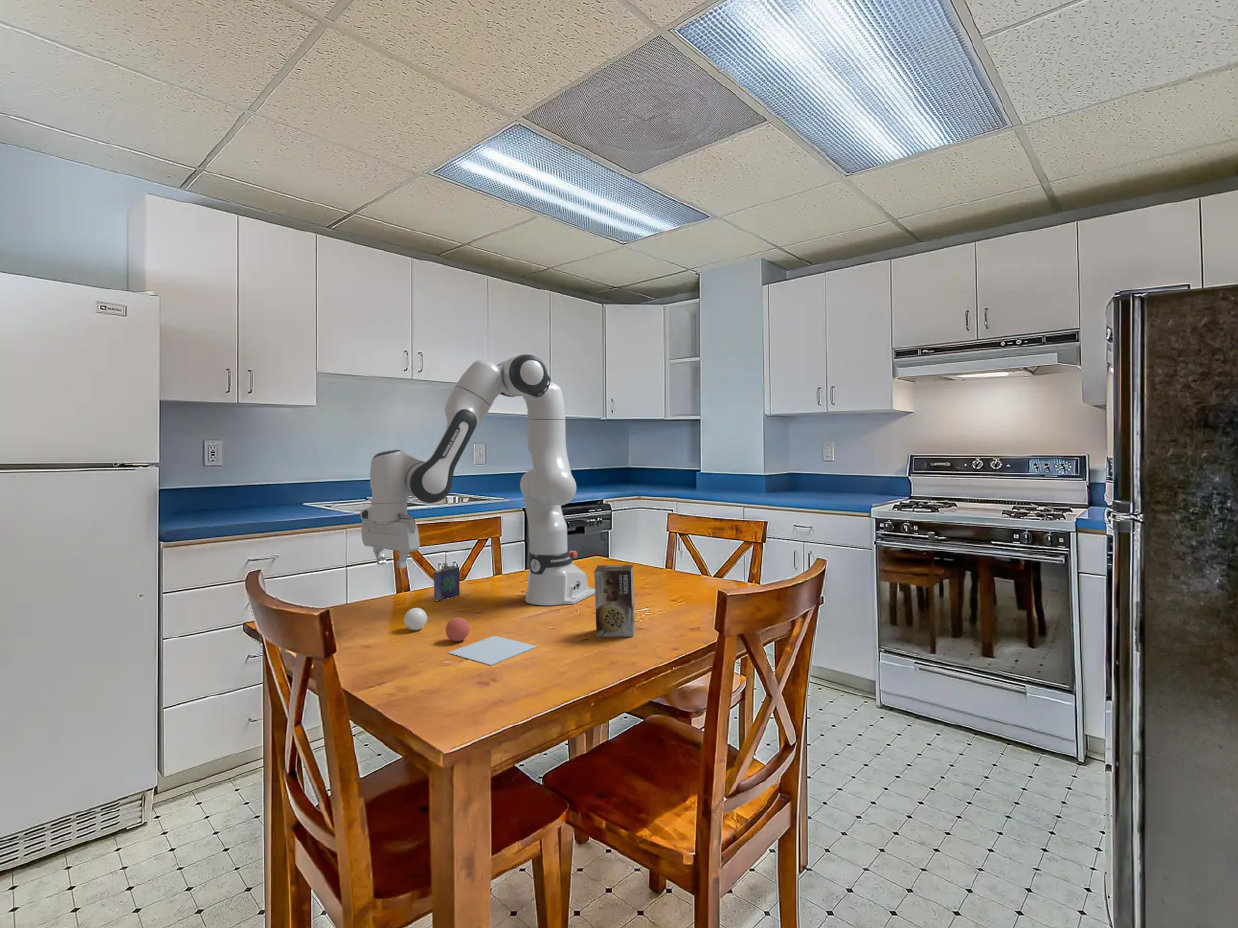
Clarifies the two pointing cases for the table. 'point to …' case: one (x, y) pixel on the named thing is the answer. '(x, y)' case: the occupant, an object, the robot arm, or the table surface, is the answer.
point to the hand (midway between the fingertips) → (391, 565)
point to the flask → (446, 582)
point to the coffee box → (614, 601)
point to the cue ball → (415, 619)
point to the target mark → (492, 650)
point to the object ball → (457, 629)
